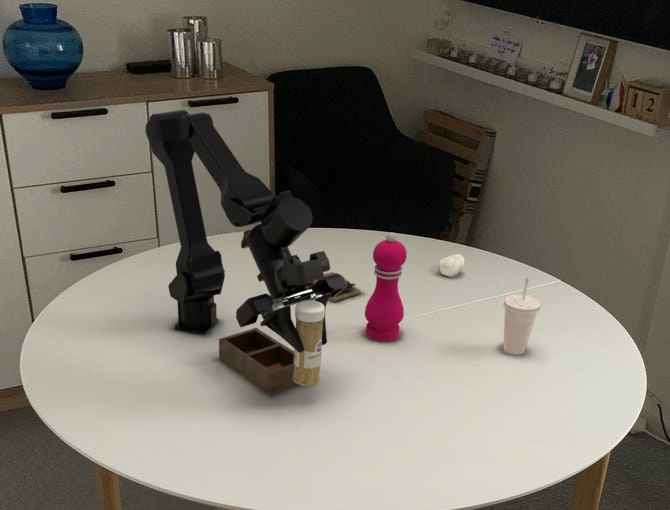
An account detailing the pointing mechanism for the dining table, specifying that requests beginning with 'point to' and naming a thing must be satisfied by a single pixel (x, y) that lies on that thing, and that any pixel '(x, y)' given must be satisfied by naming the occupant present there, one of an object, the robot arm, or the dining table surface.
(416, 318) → the dining table surface
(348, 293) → the burger on wooden board
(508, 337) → the smoothie
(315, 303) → the sprinkles bottle
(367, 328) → the pepper mill
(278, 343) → the wooden divided tray
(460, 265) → the dumpling
